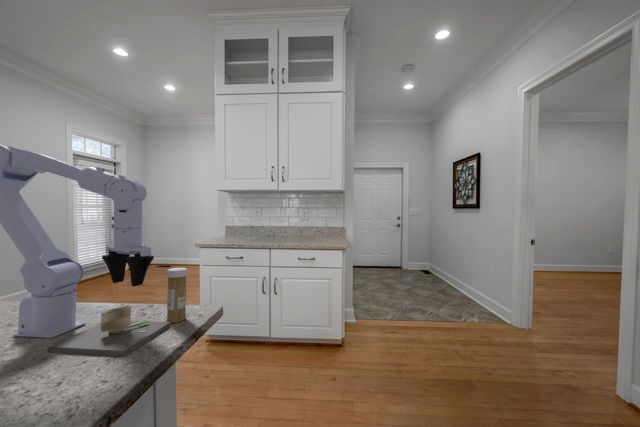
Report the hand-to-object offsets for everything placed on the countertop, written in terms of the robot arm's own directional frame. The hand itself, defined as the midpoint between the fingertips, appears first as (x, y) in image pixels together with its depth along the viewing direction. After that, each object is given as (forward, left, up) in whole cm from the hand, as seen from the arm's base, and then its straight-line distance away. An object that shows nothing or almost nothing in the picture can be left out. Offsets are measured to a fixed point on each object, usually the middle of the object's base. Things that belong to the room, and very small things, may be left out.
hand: (127, 283), depth 65 cm
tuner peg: (+4, -4, -9) cm, 11 cm away
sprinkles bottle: (+10, +5, -11) cm, 15 cm away
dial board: (+3, -6, -10) cm, 12 cm away
